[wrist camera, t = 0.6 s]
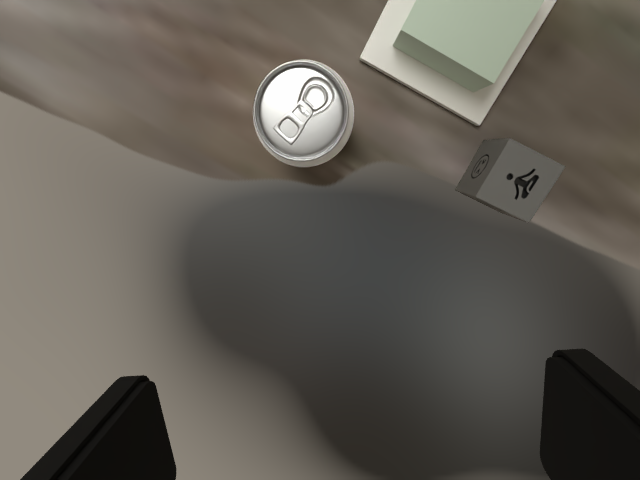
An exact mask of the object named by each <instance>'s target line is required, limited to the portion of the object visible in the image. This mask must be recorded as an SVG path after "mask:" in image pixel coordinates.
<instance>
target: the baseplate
mask: <svg viewBox="0 0 640 480" xmlns="http://www.w3.org/2000/svg"><path fill="white" fill-rule="evenodd" d="M415 1H416V0H388V2H387V4H386V6H385V8H384V10H383V12H382V14H381V16H380V18H379V20H378V22H377V24H376V26H375V28H374V30H373V32H372V34H371V36H370V38H369V40H368V42H367V44H366V46H365V48H364V50H363V52H362V54H361V56H360V59H359V60H361V61H362V62H364V63H366V64H368V65H369V66H371V67H373V68H375V69H377V70H378V71H380V72H382V73H384V74H385V75H387V76H389V77H391V78H392V79H394V80H396V81H398V82H399V83H401V84H403V85H405V86H407V87H408V88H410V89H412V90H414V91H415V92H417V93H419V94H421V95H422V96H424V97H426V98H428V99H430V100H431V101H433V102H435V103H437V104H438V105H440V106H442V107H444V108H445V109H447V110H449V111H451V112H453V113H454V114H456V115H458V116H460V117H461V118H463V119H465V120H467V121H468V122H470V123H472V124H474V125H475V126H479V125H480V124H481V123H482V121H483V119H484V118H485V116H486V114H487V113H488V111H489V110H490V108H491V106H492V105H493V103H494V101H495V100H496V98H497V97H498V95H499V93H500V92H501V90H502V88H503V87H504V85H505V84H506V82H507V80H508V79H509V77H510V75H511V74H512V72H513V71H514V69H515V67H516V66H517V64H518V62H519V61H520V59H521V58H522V56H523V54H524V53H525V51H526V49H527V48H528V46H529V44H530V43H531V41H532V40H533V38H534V36H535V35H536V33H537V31H538V30H539V28H540V27H541V25H542V23H543V22H544V20H545V18H546V17H547V15H548V14H549V12H550V10H551V9H552V7H553V5H554V4H555V2H556V1H557V0H544V2H543V3H542V5H541V7H540V8H539V10H538V12H537V13H536V15H535V17H534V18H533V20H532V22H531V23H530V25H529V26H528V28H527V30H526V31H525V33H524V35H523V36H522V38H521V40H520V41H519V43H518V45H517V46H516V48H515V50H514V51H513V53H512V55H511V56H510V58H509V60H508V61H507V63H506V64H505V66H504V68H503V69H502V71H501V73H500V74H499V76H498V78H497V79H496V81H495V83H494V84H492V85H489V86H487V87H485V88H482V89H480V90H478V91H475V92H472V91H470V90H468V89H467V88H465V87H463V86H461V85H460V84H458V83H456V82H455V81H453V80H451V79H449V78H448V77H446V76H444V75H442V74H441V73H439V72H437V71H435V70H434V69H432V68H430V67H428V66H427V65H425V64H423V63H421V62H420V61H418V60H416V59H414V58H413V57H411V56H409V55H407V54H406V53H404V52H402V51H400V50H399V49H397V48H395V47H394V46H393V44H394V42H395V40H396V38H397V36H398V34H399V32H400V30H401V28H402V26H403V24H404V23H405V21H406V19H407V17H408V15H409V13H410V11H411V9H412V7H413V5H414V3H415Z"/></svg>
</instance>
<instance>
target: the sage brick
mask: <svg viewBox="0 0 640 480" xmlns="http://www.w3.org/2000/svg"><path fill="white" fill-rule="evenodd" d="M543 2H544V0H416V1H415V3H414V5H413V7H412V9H411V11H410V13H409V15H408V17H407V19H406V21H405V23H404V24H403V26H402V28H401V30H400V32H399V34H398V36H397V38H396V40H395V42H394V44H393V46H394V47H395V48H397V49H399V50H400V51H402V52H404V53H406V54H407V55H409V56H411V57H413V58H414V59H416V60H418V61H420V62H421V63H423V64H425V65H427V66H428V67H430V68H432V69H434V70H435V71H437V72H439V73H441V74H442V75H444V76H446V77H448V78H449V79H451V80H453V81H455V82H456V83H458V84H460V85H461V86H463V87H465V88H467V89H468V90H470V91H472V92H475V91H478V90H480V89H482V88H485V87H487V86H489V85H492V84H494V83H495V81H496V79H497V78H498V76H499V74H500V73H501V71H502V69H503V68H504V66H505V64H506V63H507V61H508V60H509V58H510V56H511V55H512V53H513V51H514V50H515V48H516V46H517V45H518V43H519V41H520V40H521V38H522V36H523V35H524V33H525V31H526V30H527V28H528V26H529V25H530V23H531V22H532V20H533V18H534V17H535V15H536V13H537V12H538V10H539V8H540V7H541V5H542V3H543Z"/></svg>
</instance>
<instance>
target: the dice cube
mask: <svg viewBox="0 0 640 480" xmlns="http://www.w3.org/2000/svg"><path fill="white" fill-rule="evenodd" d="M565 167H566V166H564V165H562V164H560V163H558V162H556V161H554V160H552V159H550V158H548V157H546V156H544V155H542V154H540V153H538V152H536V151H534V150H532V149H530V148H529V147H527V146H525V145H523V144H521V143H519V142H517V141H515V140H513V139H511V138H505V139H492V140H483V142H482V144H481V146H480V147H479V149H478V151H477V153H476V154H475V156H474V158H473V160H472V161H471V163H470V165H469V166H468V168H467V170H466V172H465V173H464V175H463V177H462V179H461V180H460V182H459V184H458V186H457V187H456V189H455V190H456V191H458V192H460V193H462V194H464V195H466V196H468V197H470V198H472V199H474V200H476V201H478V202H480V203H482V204H484V205H486V206H489V207H490V208H492V209H495V210H497V211H499V212H501V213H504V214H506V215H509V216H511V217H514V218H517V219H519V220H522V221H525V222H528V223H529V222H530V220H531V219H532V217H533V216H534V214H535V213H536V211H537V210H538V208H539V207H540V205H541V204H542V202H543V200H544V199H545V197H546V196H547V194H548V193H549V191H550V190H551V188H552V187H553V185H554V184H555V182H556V181H557V179H558V177H559V176H560V174H561V173H562V171H563V170H564V168H565Z"/></svg>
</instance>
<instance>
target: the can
mask: <svg viewBox="0 0 640 480" xmlns="http://www.w3.org/2000/svg"><path fill="white" fill-rule="evenodd" d="M253 120H254V126H255V129H256V132H257V135H258V137H259V139H260V141H261V143H262V144H263V146H264V147H265V148H266V149H267V151H268V152H269V153H270V154H272V155H273V156H274V157H275V158H277V159H278V160H280V161H282V162H284V163H286V164H289V165H292V166H296V167H312V166H317V165H320V164H323V163H325V162H327V161H329V160H330V159H332V158H333V157H335V156H336V155H337V154H338V153H339V152H340V151H341V150H342V149H343V147H344V146H345V144H346V143H347V141H348V139H349V137H350V135H351V132H352V128H353V123H354V105H353V100H352V96H351V94H350V91H349V89H348V87H347V85H346V84H345V82H344V81H343V79H342V78H341V77H340V76H339V75H338V74H337V73H336V72H335V71H334V70H333V69H331V68H330V67H328V66H326V65H324V64H322V63H320V62H317V61H313V60H305V59H302V60H293V61H289V62H286V63H283V64H281V65H279V66H277V67H276V68H274V69H273V70H272V71H271V72H269V73H268V74H267V76H266V77H265V78H264V79H263V81H262V82H261V84H260V86H259V88H258V90H257V92H256V95H255V100H254V105H253Z"/></svg>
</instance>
